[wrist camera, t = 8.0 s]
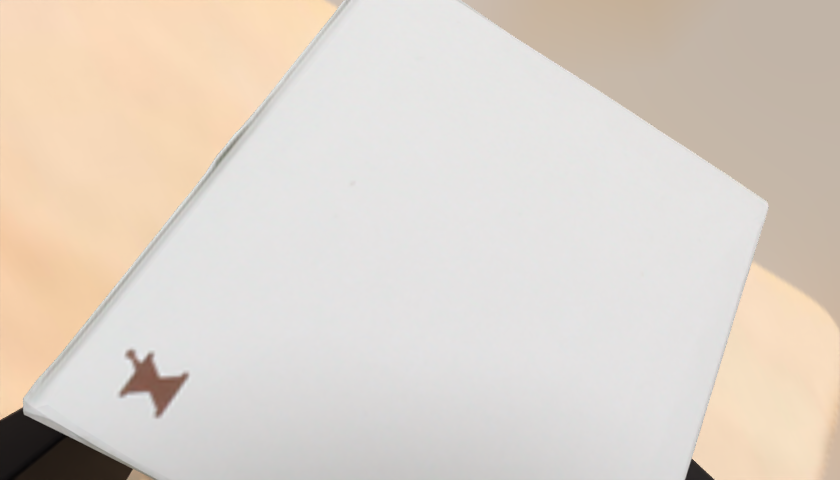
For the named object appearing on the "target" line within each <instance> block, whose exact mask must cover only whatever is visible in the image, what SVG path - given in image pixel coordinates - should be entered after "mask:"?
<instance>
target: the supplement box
mask: <svg viewBox="0 0 840 480" xmlns="http://www.w3.org/2000/svg"><path fill="white" fill-rule="evenodd" d="M768 208H769V207H768V203H767V201H766V200H764V199H763V198H761V197H759V196H758V195H757V194H755V193H753V192H752V191H750V190H749V189H748V188H746V187H745V186H743V185H742V184H740V183H739V182H737V181H736V180H734V179H733V178H731V177H730V176H728V175H727V174H725V173H724V172H722V171H721V170H719V169H718V168H716V167H714V166H713V165H711V164H710V163H709V162H707V161H705V160H704V159H703V158H701V157H700V156H698V155H697V154H695V153H694V152H692V151H691V150H689V149H687V148H686V147H684V146H683V145H681V144H680V143H678V142H676V141H675V140H673V139H672V138H670V137H669V136H667V135H666V134H664V133H662V132H661V131H659V130H658V129H656V128H654V127H653V126H652V125H650V124H649V123H647V122H646V121H644V120H643V119H641V118H640V117H638V116H637V115H635V114H634V113H632V112H631V111H629V110H628V109H626V108H624V107H623V106H622V105H620V104H619V103H617V102H616V101H614V100H612V99H611V98H609V97H608V96H606V95H605V94H603V93H602V92H600V91H599V90H597V89H596V88H594V87H593V86H591V85H589V84H588V83H586V82H585V81H583V80H581V79H580V78H578V77H577V76H575V75H574V74H572V73H571V72H569V71H567V70H566V69H564V68H563V67H561V66H559V65H558V64H556V63H555V62H553V61H552V60H550V59H548V58H547V57H545V56H544V55H542V54H540V53H539V52H537V51H536V50H534V49H532V48H531V47H529V46H528V45H526V44H525V43H523V42H522V41H520V40H519V39H517V38H516V37H514V36H512V35H511V34H509V33H508V32H506V31H505V30H503V29H502V28H500V27H499V26H497V25H496V24H495V23H493V22H492V21H490V20H489V19H487V18H486V17H484V16H483V15H482V14H480V13H479V12H477V11H476V10H474V9H473V8H471V7H470V6H469V5H467V4H466V3H464V2H462V1H461V0H344V1H343V2H342V4H341V5H340V6H339V7H338V9H337V10H336V11H335V13H334V14H333V15H332V17H331V18H330V19H329V20H328V22H327V23H326V24H325V25H324V27H323V28H322V29H321V30H320V31H319V33H318V34H317V35H316V36H315V38H314V39H313V40H312V41H311V43H310V44H309V45H308V46H307V48H306V49H305V50H304V51H303V52H302V54H301V55H300V56H299V57H298V59H297V60H296V61H295V62H294V64H293V65H292V66H291V67H290V69H289V70H288V71H287V73H286V74H285V75H284V76H283V78H282V79H281V80H280V81H279V83H278V84H277V85H276V86H275V88H274V89H273V90H272V91H271V93H270V94H269V95H268V96H267V98H266V99H265V100H264V101H263V103H262V104H261V105H260V106H259V107H258V109H257V110H256V111H255V112H254V113H253V114H252V116H251V117H250V118H249V119H248V120H247V121H246V122H245V124H244V125H243V126H242V127H241V128H240V129H239V130H238V131H237V132H236V133H235V134H234V135H233V137H232V138H231V139H230V140H229V142H228V143H227V144H226V146H225V147H224V148H223V149H222V150H221V151H220V153H219V154H218V155H217V156H216V158H215V159H214V161H213V162H212V164H211V165H210V167H209V169H208V170H207V172H206V173H205V175H204V176H203V177H202V178H201V180H200V181H199V182H198V184H197V185H196V186H195V187H194V189H193V190H192V191H191V192H190V194H189V195H188V196H187V197H186V198H185V200H184V201H183V202H182V203H181V204H180V206H179V207H178V208H177V209H176V211H175V212H174V213H173V215H172V216H171V217H170V218H169V220H168V221H167V222H166V223H165V225H164V226H163V227H162V229H161V230H160V231H159V232H158V234H157V235H156V236H155V237H154V239H153V240H152V241H151V242H150V243H149V245H148V246H147V247H146V248H145V250H144V251H143V252H142V253H141V255H140V256H139V257H138V258H137V260H136V261H135V262H134V263H133V265H132V266H131V267H130V268H129V270H128V271H127V272H126V273H125V275H124V276H123V277H122V278H121V280H120V281H119V282H118V283H117V284H116V286H115V287H114V288H113V289H112V291H111V292H110V293H109V294H108V296H107V297H106V298H105V299H104V301H103V302H102V303H101V304H100V306H99V307H98V308H97V309H96V310H95V312H94V313H93V314H92V315H91V317H90V318H89V319H88V320H87V322H86V323H85V324H84V325H83V327H82V328H81V329H80V330H79V332H78V333H77V334H76V335H75V337H74V338H73V339H72V340H71V342H70V343H69V344H68V345H67V346H66V348H65V349H64V350H63V351H62V353H61V354H60V355H59V356H58V357H57V359H56V360H55V361H54V362H53V363H52V364H51V365H50V366H49V367H48V368H47V370H46V371H45V372H44V373H43V374H42V375H41V376H40V377H39V378H38V379H37V381H36V382H35V383H34V385H33V386H32V387H31V389H30V390H29V391H28V393H27V394H26V395H25V397H24V398H23V412H24V415H26V416H28V417H30V418H32V419H34V420H36V421H38V422H40V423H42V424H44V425H46V426H49V427H51V428H53V429H55V430H57V431H59V432H61V433H63V434H65V435H67V436H69V437H71V438H73V439H75V440H77V441H79V442H81V443H83V444H85V445H87V446H89V447H91V448H93V449H95V450H97V451H99V452H101V453H103V454H105V455H107V456H109V457H111V458H113V459H114V460H116V461H118V462H120V463H122V464H124V465H126V466H128V467H130V468H132V469H134V470H136V471H138V472H140V473H142V474H144V475H146V476H148V477H150V478H152V479H154V480H685V478H686V475H687V472H688V468H689V465H690V462H691V459H692V455H693V452H694V449H695V446H696V442H697V439H698V436H699V433H700V429H701V426H702V423H703V419H704V416H705V413H706V410H707V406H708V403H709V400H710V396H711V393H712V390H713V387H714V383H715V380H716V377H717V373H718V370H719V367H720V364H721V360H722V357H723V354H724V350H725V347H726V344H727V341H728V337H729V334H730V331H731V327H732V324H733V321H734V318H735V314H736V311H737V308H738V305H739V301H740V298H741V295H742V292H743V289H744V285H745V282H746V279H747V276H748V273H749V270H750V266H751V263H752V260H753V257H754V253H755V249H756V246H757V243H758V240H759V237H760V234H761V231H762V228H763V225H764V222H765V219H766V216H767V212H768Z"/></svg>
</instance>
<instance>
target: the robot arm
mask: <svg viewBox="0 0 840 480" xmlns="http://www.w3.org/2000/svg"><path fill="white" fill-rule="evenodd" d="M132 470H133V469H132V468H130V467H128V466H126V465H124V464H122V463H120V462H118V461H116V460H114V459H113V458H111V457H109V456H107V455H105V454H103V453H101V452H99V451H97V450H95V449H93V448H91V447H89V446H87V445H85V444H83V443H81V442H79V441H77V440H75V439H73V438H71V437H69V436H67V435H65V434H63V433H61V432H59V431H57V430H55V429H53V428H51V427H49V426H46V425H44V424H42V423H40V422H38V421H36V420H34V419H32V418H30V417H28V416H26V415H24V412H23V408H21V409H19V410H17V411H16V412H14V413H12V414H10V415H8V416H7V417H5V418H3V419H1V420H0V480H127V478H128V477H129V475H130V473H131V472H132ZM685 480H714V479H713V478H712V477H711V476H710V475H709V474H708V473H707V472H706V471H705V470H703V469H702V468H701V467H700V466H699V465H698V464H697V463H696V462H695V461H694V460H693V459H691V462H690V465H689V468H688V472H687V475H686V478H685Z"/></svg>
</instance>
